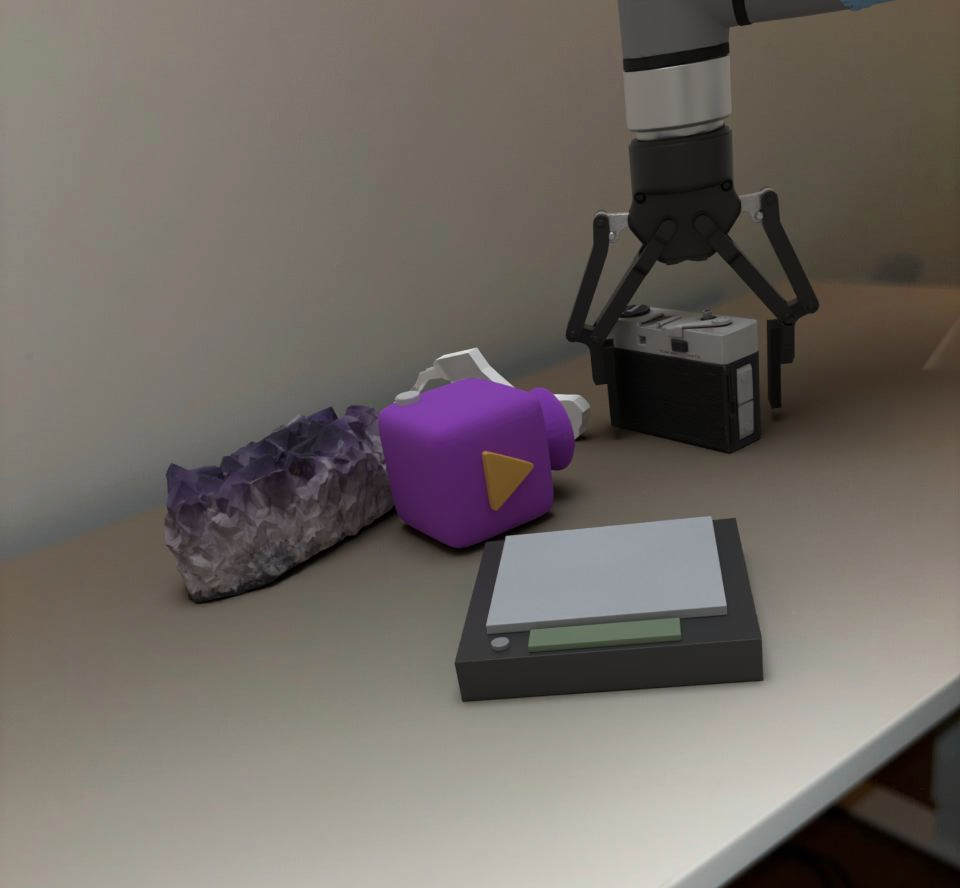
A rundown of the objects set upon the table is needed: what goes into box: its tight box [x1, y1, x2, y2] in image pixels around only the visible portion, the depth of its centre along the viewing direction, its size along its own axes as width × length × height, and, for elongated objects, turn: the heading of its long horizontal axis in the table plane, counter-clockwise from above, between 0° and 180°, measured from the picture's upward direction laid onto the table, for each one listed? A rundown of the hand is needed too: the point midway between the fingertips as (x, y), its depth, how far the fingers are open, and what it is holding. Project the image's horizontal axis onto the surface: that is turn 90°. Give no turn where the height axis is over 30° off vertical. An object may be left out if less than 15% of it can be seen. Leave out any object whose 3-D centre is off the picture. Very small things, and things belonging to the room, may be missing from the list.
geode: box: [163, 404, 395, 602], centre depth 79 cm, size 20×12×10 cm, turn 146°
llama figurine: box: [393, 347, 591, 440], centre depth 94 cm, size 2×11×18 cm
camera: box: [606, 304, 762, 454], centre depth 87 cm, size 14×9×10 cm, turn 29°
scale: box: [454, 515, 764, 702], centre depth 62 cm, size 16×15×3 cm
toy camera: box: [378, 378, 576, 549], centre depth 77 cm, size 11×14×10 cm
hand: (694, 412), depth 88 cm, fingers open, 12 cm apart
